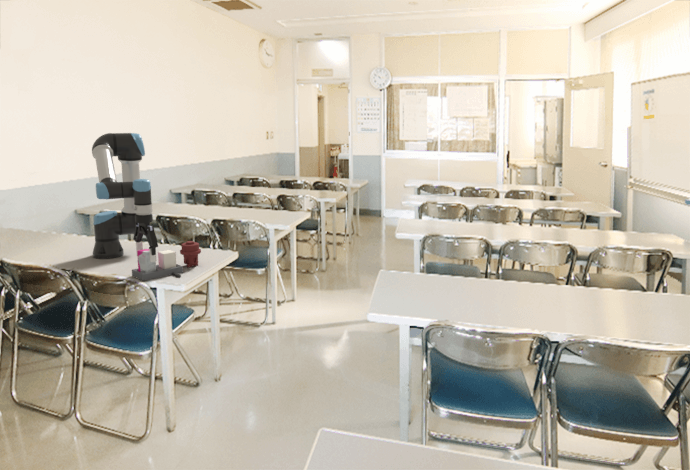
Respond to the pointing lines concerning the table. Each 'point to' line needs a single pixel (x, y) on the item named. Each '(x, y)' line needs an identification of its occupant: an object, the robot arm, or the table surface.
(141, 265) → the supplement box
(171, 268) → the grey double recess tray
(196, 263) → the mechanical component
